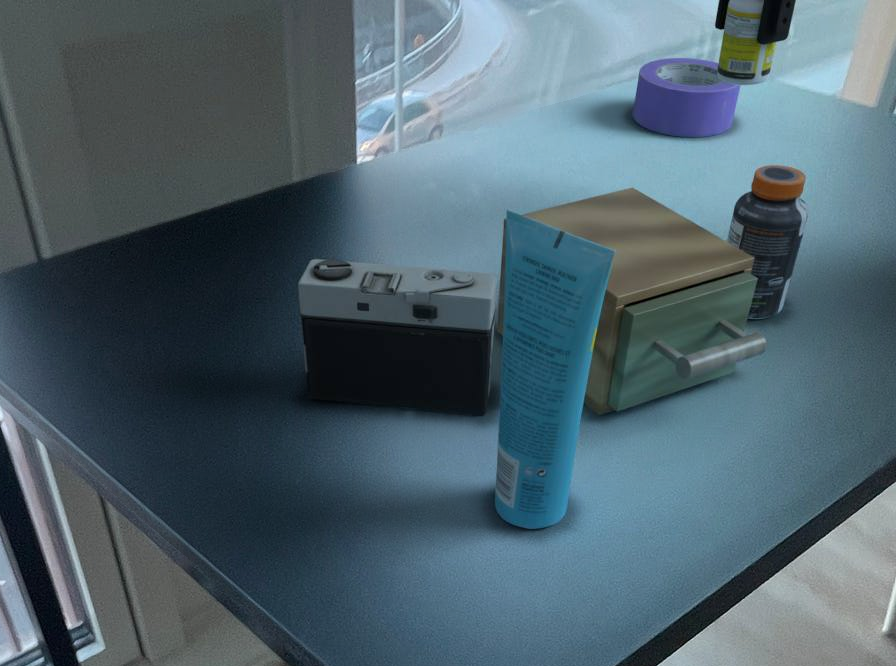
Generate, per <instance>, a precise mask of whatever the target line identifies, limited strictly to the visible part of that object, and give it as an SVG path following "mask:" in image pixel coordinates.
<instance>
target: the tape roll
mask: <svg viewBox="0 0 896 666" xmlns="http://www.w3.org/2000/svg"><path fill="white" fill-rule="evenodd" d="M718 64H719V62H715V61H712V60H706V59H699V58H693V57H691V58H690V57H670V58H661V59H656V60H652V61H649V62H647V63H645V64H643V65H642V66H641V67H640V68H639V72H638V78H637V84H636V90H635V96H634V103H633V109H632V118H633V120H634V121H635V122H636V123H637V124H638V125H640V126H641V127H643V128H645V129H647V130H649V131H653V132H655V133H659V134H663V135H667V136H673V137H683V138H704V137H711V136H717V135H720V134H723V133H725V132H726V131H728V130H730V128H731V127H732V125H733V122H734V117H735V112H736V107H737V104H738V98H739V95H740V90H741V86H742V85H735V84H730V83H727V82H724V81H722V80H720V79H719V78H718V76H717V69H718Z"/></svg>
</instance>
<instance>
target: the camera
mask: <svg viewBox="0 0 896 666" xmlns="http://www.w3.org/2000/svg"><path fill="white" fill-rule="evenodd" d="M497 283H498V276H497V275H496V273H495V274H494V273H492V272H481V271H468V270H456V269H443V268H433V267H432V268H431V267H421V266H420V267H418V266H406V265H405V266H404V265H394V264H393V265H392V264H381V263H369V262H367V263H366V262H355V261H346V260H342V259H334V258H333V259H332V258H330V259H318V258H314V259H311V260H310V261H309V263H308V264H307V266H306V268H305V270H304V271H303V274H302V275H301V278H300V279H299V280H298V283H297V286H298V287H297V288H298V298H299V299H298V300H299V310H300V312H299V313H300V320H301V331H302V339H303V344H302V345H303V358H304V369H305V374H306V375H305V376H306V385H307V396H308V397H307V398H308V399H310V400H321V401H328V402H329V401H331V402H339V403H342V402H343V403H352V404H361V405H362V404H363V405H370V406H371V405H373V406H382V407H383V406H384V407H391V408H393V407H394V408H401V409H403V408H404V409H414V410H422V411H423V410H425V411H434V412H445V413H455V414H466V415H477V416H485V415H486V412H487V407H488V404H489V399H490V393H491V384H492V370H493V354H494V353H493V352H494V336H495V320H496V301H497V285H498V284H497Z"/></svg>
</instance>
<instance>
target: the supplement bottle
mask: <svg viewBox="0 0 896 666" xmlns="http://www.w3.org/2000/svg"><path fill="white" fill-rule="evenodd" d="M763 4H764V0H730V1H729V4H728V9H727V15H726V21H725V27H724V29H723V33H722V40H721V46H720V47H721V48H720V50H719V51H720V52H719V58H718V63H719V64H718V69H717V76H718V78H719V79H720V80H722V81H724V82H727V83H730V84H735V85H741V86H751V85H752V86H753V85H758V84H762V83H765V82H766V81H767V80H768V79H769V77H770V75H771V74H770V73H771V69H772V64H773V59H774V54H775V50H776V44H777V42H774V43H769V44H764V45H762V44H759V43H758V42H757V34H758V29H759V24H760V19H761V14H762V9H763Z"/></svg>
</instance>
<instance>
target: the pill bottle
mask: <svg viewBox="0 0 896 666" xmlns="http://www.w3.org/2000/svg"><path fill="white" fill-rule="evenodd" d="M805 183H806V174H805V173H804V172H803V171H801V170H800V169H798V168H795V167H792V166H786V165H779V164H778V165H776V164H771V165H764V166H761V167H760V166H759V168H757V169H756V170H755V171H754V175H753V179H752V182H751V185H750V187H751V190H750V191H747V192H746V193H744V194H743V195H741V196H740V197H739V198H738V199H737V200H736V202H735V204H734V207H733V212H732V216H731V220H730V225H729V230H728V234H727V239H726V241H727V242H728V243H730V244H732V245H734V246H735V247H737V248H739V249H741V250H742V251H744V252H746V253H748V254H749V255H751V256H753V257H754V262H753V266H752V270H751V274H752V275H753V276H755V277H757V278H758V279H757V283H756V287H755V291H754V295H753V299H752V303H751V307H750V310H749V314H748V318H747V320H748V319H750V320H762V319H767V318H770V317H773V316H776V315H778V314H780V312H781V311H782V310H783V308H784V305H785V302H786V298H787V295H788V291H789V287H790V283H791V280H792V276H793V273H794V269H795V266H796V263H797V259H798V258H797V257H798V254H799V251H800V247H801V244H802V240H803V236H804V232H805V229H806V226H807V225H806V224H807V221H808V218H809V208H808V205H807V203H806V202H805V200H803V199H802V198H801V195H802V194H803V192H804V187H805Z"/></svg>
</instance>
